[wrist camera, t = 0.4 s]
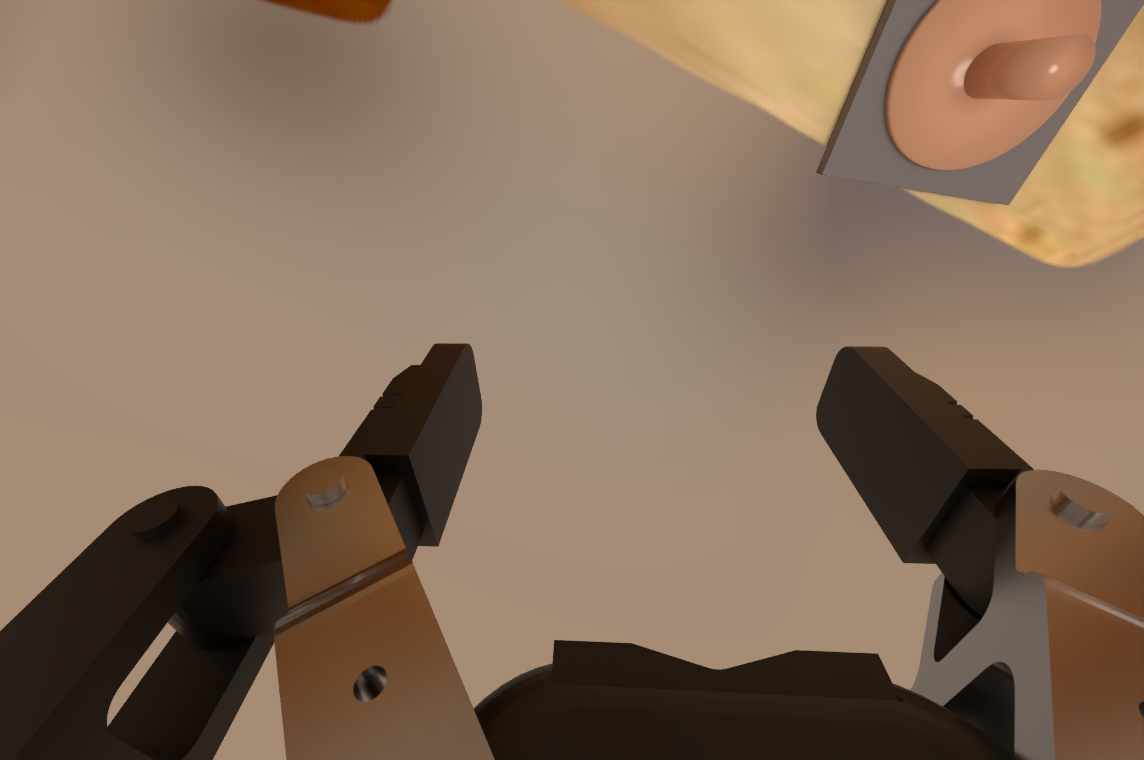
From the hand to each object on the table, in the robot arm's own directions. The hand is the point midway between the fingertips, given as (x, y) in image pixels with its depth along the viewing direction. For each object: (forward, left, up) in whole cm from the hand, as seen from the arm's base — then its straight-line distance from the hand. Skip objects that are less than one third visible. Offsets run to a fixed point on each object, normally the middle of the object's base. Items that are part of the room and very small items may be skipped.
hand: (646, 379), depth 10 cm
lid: (-9, +22, -27) cm, 35 cm away
